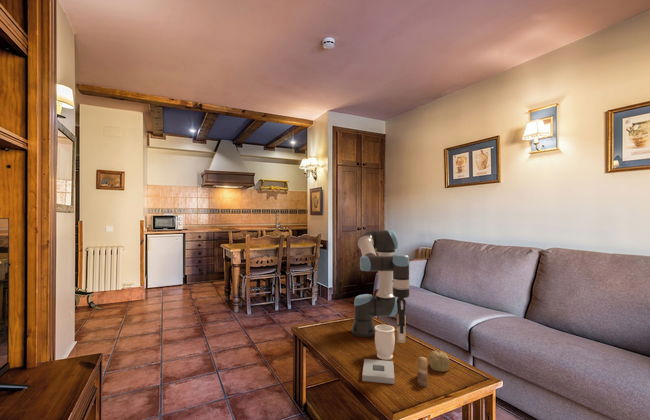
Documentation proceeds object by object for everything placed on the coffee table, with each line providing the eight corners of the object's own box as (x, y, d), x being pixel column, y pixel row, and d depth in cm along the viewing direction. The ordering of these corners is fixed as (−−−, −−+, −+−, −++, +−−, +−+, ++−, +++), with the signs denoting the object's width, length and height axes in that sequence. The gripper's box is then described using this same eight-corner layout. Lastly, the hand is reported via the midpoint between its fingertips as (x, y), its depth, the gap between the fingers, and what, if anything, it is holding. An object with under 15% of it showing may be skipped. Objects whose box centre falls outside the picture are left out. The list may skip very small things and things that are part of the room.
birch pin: (396, 339, 145) (396, 313, 145) (405, 339, 144) (405, 314, 145) (397, 342, 141) (397, 316, 141) (406, 343, 140) (405, 317, 141)
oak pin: (417, 373, 142) (417, 356, 142) (426, 374, 141) (426, 357, 141) (418, 378, 138) (418, 360, 138) (428, 379, 137) (427, 361, 137)
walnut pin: (416, 381, 135) (416, 370, 135) (426, 382, 135) (426, 370, 135) (418, 386, 131) (418, 375, 131) (428, 387, 131) (428, 375, 131)
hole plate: (364, 363, 152) (364, 358, 152) (393, 366, 149) (393, 361, 149) (362, 380, 136) (362, 375, 136) (394, 384, 133) (394, 378, 133)
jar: (395, 362, 153) (395, 332, 154) (374, 360, 155) (374, 330, 156) (394, 353, 164) (394, 324, 164) (375, 351, 166) (375, 323, 166)
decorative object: (428, 370, 152) (421, 357, 149) (441, 356, 155) (434, 342, 152) (443, 381, 144) (436, 367, 141) (456, 366, 147) (450, 351, 144)
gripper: (392, 283, 152) (392, 330, 152) (393, 291, 136) (393, 344, 135) (407, 284, 151) (407, 331, 150) (411, 292, 134) (411, 346, 134)
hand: (401, 337), depth 143 cm, fingers closed on birch pin, 4 cm apart
